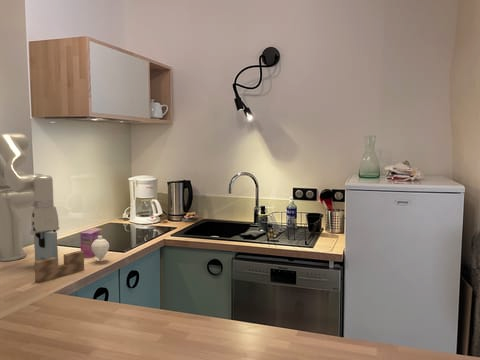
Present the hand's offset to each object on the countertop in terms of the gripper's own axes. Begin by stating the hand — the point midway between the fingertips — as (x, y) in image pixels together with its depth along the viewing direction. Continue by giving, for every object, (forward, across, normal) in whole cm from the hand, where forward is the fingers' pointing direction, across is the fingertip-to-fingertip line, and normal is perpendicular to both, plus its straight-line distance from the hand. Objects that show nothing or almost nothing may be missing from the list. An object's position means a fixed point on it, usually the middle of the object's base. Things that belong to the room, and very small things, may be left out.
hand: (45, 246), depth 182 cm
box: (+9, +23, +1) cm, 25 cm away
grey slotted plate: (+9, 0, 0) cm, 9 cm away
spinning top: (+9, +18, -13) cm, 24 cm away
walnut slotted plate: (+9, -3, -16) cm, 18 cm away
